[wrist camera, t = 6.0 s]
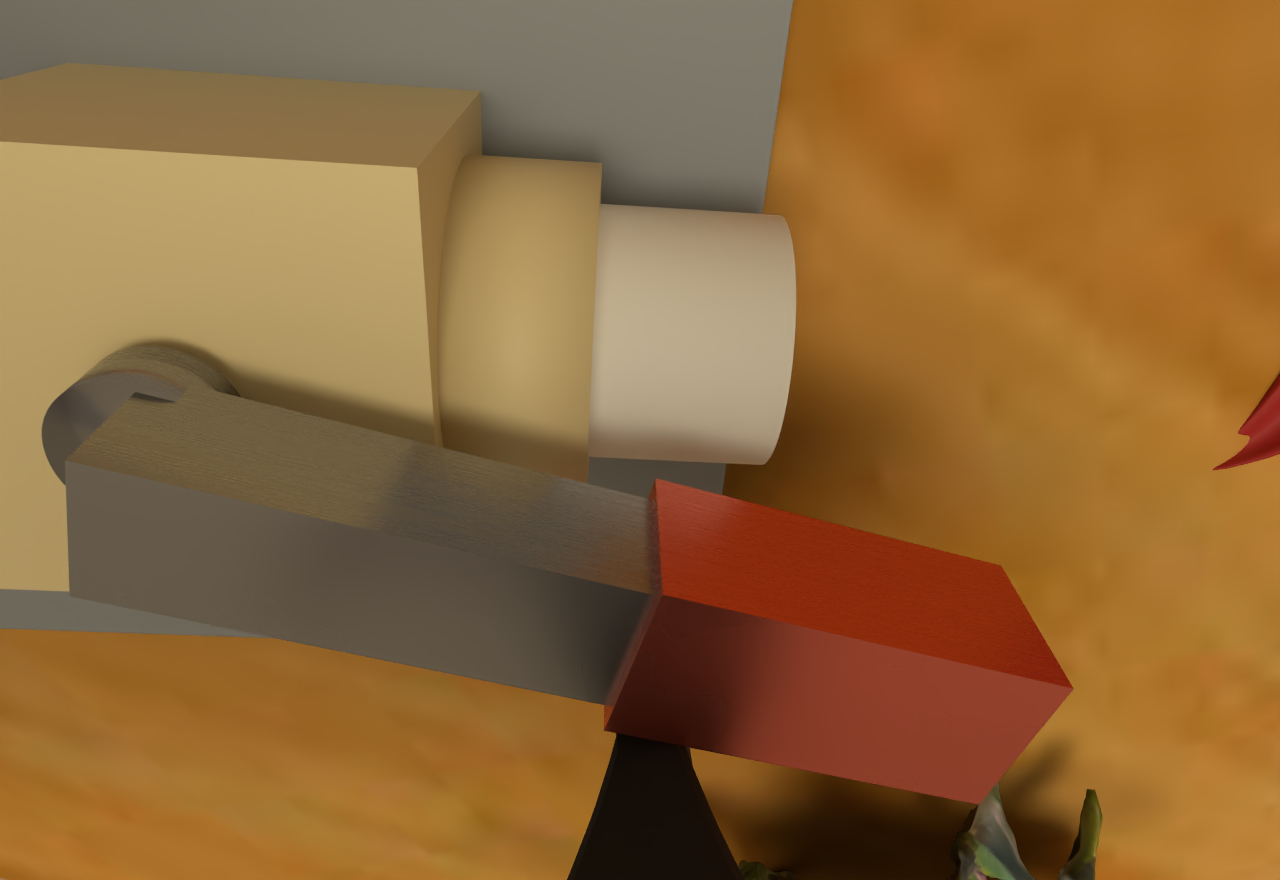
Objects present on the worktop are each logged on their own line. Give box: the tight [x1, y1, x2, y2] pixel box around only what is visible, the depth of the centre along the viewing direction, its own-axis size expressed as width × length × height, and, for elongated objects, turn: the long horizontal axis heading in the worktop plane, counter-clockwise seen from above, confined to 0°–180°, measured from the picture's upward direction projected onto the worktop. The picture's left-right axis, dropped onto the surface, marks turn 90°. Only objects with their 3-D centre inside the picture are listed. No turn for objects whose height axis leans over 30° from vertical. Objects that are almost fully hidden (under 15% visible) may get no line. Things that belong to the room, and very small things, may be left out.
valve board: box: [0, 0, 796, 638], centre depth 14 cm, size 16×18×6 cm
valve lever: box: [42, 346, 1073, 805], centre depth 10 cm, size 12×2×2 cm, turn 73°
